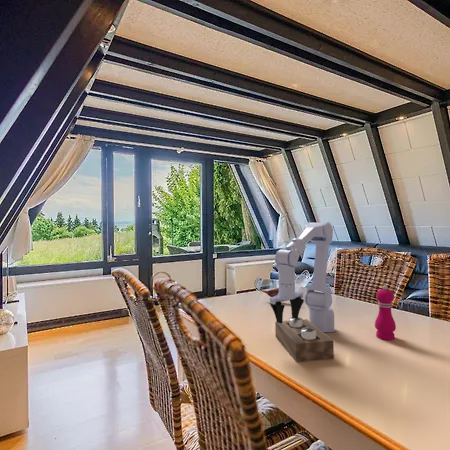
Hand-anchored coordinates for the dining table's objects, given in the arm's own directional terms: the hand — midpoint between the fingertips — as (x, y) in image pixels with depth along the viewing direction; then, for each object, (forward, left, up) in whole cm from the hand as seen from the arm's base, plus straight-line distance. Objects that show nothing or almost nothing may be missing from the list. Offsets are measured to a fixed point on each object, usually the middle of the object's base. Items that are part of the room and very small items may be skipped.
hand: (287, 320), depth 118 cm
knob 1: (-5, -5, -7) cm, 10 cm away
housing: (-5, +1, -10) cm, 11 cm away
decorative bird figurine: (-13, -58, -10) cm, 60 cm away
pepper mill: (-39, -1, -10) cm, 40 cm away
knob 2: (-5, +7, -7) cm, 11 cm away
